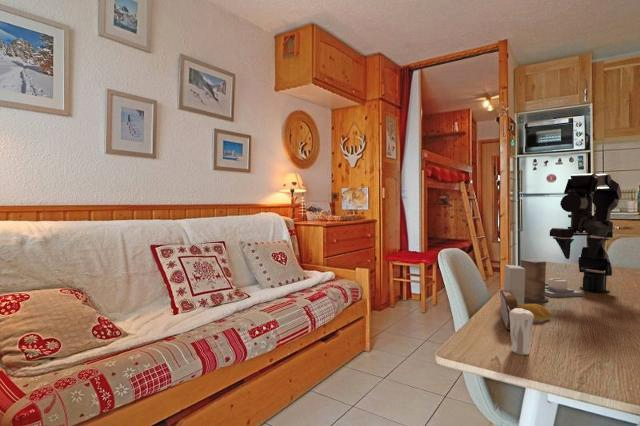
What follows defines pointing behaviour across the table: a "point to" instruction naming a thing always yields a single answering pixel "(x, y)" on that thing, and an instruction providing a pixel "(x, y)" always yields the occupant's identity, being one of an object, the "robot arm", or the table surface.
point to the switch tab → (557, 283)
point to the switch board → (561, 292)
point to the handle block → (534, 278)
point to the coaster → (536, 300)
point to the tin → (507, 300)
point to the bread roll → (536, 312)
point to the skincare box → (515, 281)
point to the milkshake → (520, 330)
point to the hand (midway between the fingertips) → (579, 258)
